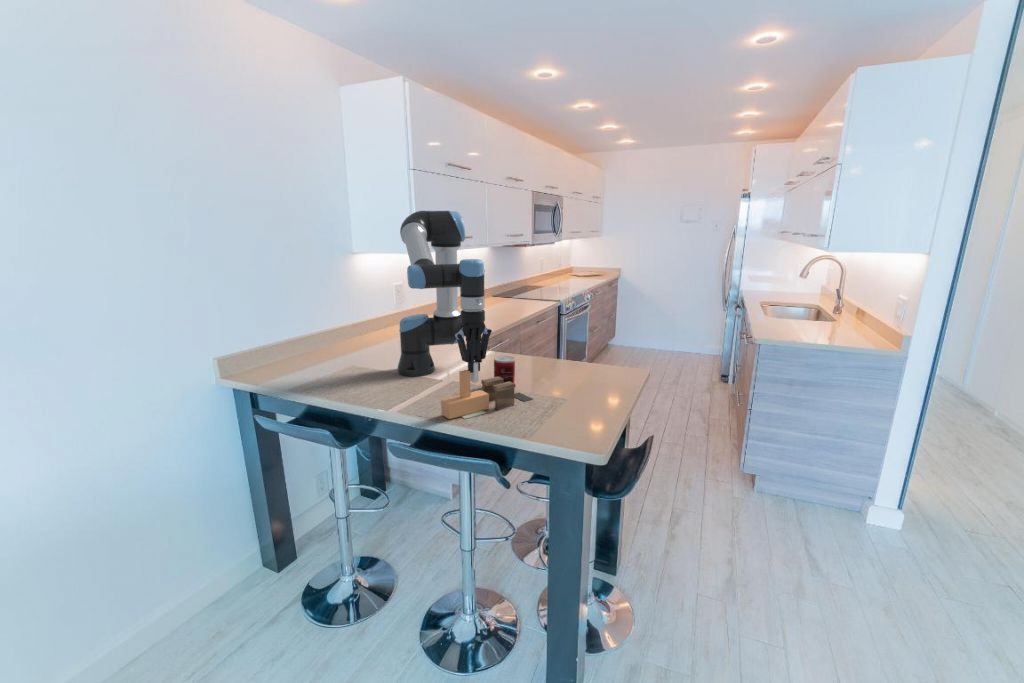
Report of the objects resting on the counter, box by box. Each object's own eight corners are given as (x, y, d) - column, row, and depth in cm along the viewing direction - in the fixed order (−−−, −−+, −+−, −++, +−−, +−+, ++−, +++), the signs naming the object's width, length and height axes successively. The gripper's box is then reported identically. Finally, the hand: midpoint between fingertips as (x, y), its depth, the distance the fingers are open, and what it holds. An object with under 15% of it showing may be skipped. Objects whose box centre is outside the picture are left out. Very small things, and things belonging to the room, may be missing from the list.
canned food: (503, 381, 181) (502, 354, 179) (519, 386, 176) (519, 358, 174) (489, 386, 176) (489, 358, 173) (506, 391, 171) (505, 362, 168)
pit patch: (510, 395, 167) (510, 394, 167) (519, 392, 169) (519, 392, 169) (524, 401, 160) (524, 401, 160) (533, 399, 163) (533, 398, 163)
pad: (450, 410, 153) (450, 409, 153) (471, 404, 158) (471, 404, 158) (465, 419, 146) (465, 418, 146) (486, 413, 151) (486, 412, 151)
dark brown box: (481, 401, 161) (481, 380, 159) (498, 397, 165) (498, 376, 163) (498, 410, 153) (498, 388, 151) (515, 405, 157) (515, 383, 155)
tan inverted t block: (441, 414, 149) (439, 373, 146) (480, 403, 158) (480, 365, 154) (449, 419, 145) (447, 377, 142) (489, 408, 154) (488, 368, 150)
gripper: (460, 313, 139) (463, 388, 144) (496, 309, 146) (497, 380, 152) (448, 310, 145) (451, 382, 150) (483, 305, 152) (484, 374, 158)
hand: (474, 381), depth 151 cm, fingers closed
